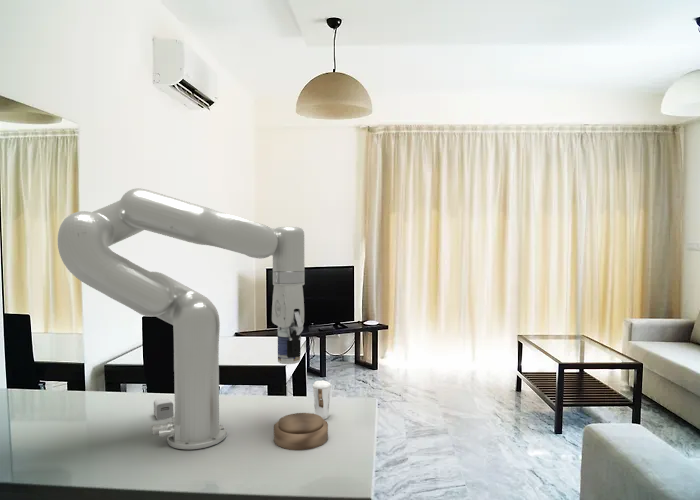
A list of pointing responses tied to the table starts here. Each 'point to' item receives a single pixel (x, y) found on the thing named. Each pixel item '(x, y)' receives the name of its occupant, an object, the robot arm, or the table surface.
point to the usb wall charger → (163, 408)
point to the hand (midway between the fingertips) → (288, 353)
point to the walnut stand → (300, 431)
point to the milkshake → (322, 398)
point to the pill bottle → (285, 348)
